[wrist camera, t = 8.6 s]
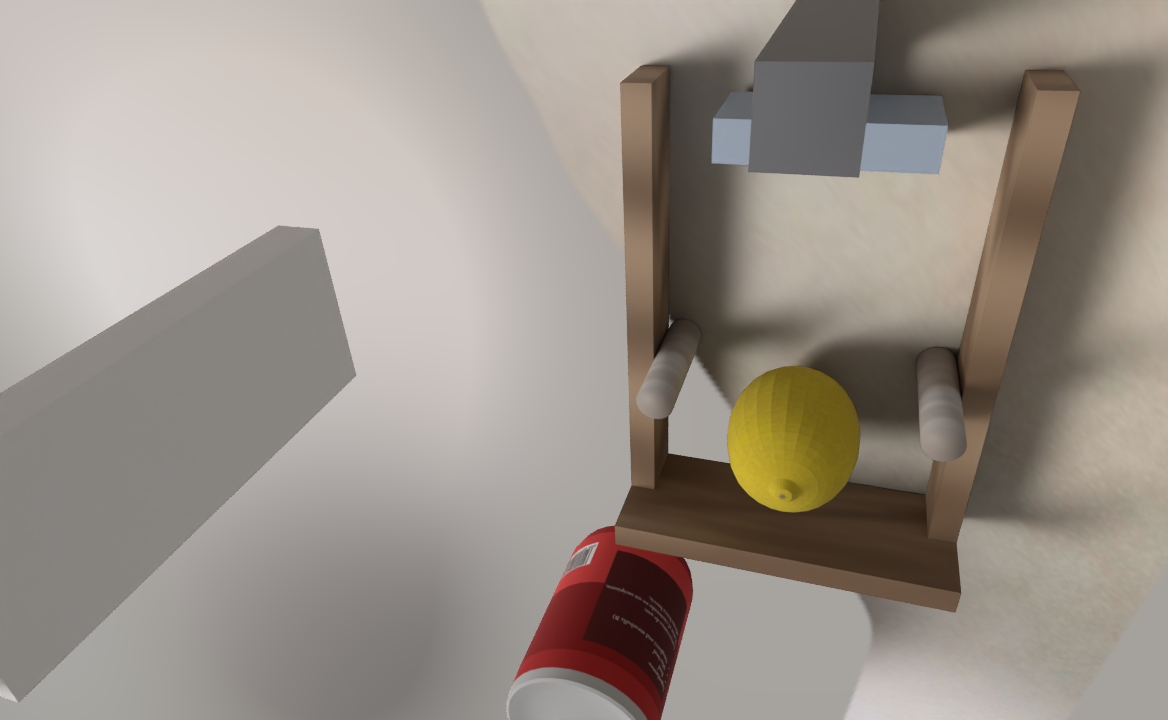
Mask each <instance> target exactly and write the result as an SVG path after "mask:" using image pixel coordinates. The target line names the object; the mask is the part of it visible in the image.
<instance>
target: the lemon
mask: <svg viewBox="0 0 1168 720" xmlns="http://www.w3.org/2000/svg"><path fill="white" fill-rule="evenodd" d="M859 445H860V426H859V421H858V417H857V413H856V409H855V407H854V404H853V403H852V401H851V399H850V398H849V396H848V394H847V392H846V391H845V390H844V389H843V388H842V387H841V386H840V385H839V384H838V383H837V382H836V381H835V380H834V379H832V378H831V377H829V376H827V375H826V374H824V373H822V372H820V371H817V370H815V369H812V368H809V367H801V366H788V367H781V368H777V369H774V370H771V371H768V372H766V373H764V374H763V375H761V376H759V377H758V378H756V379H755V380H754V381H753V382H752V383H751V384H750V385H749V386H748V387H747V388H746V389H745V390H744V391H743V392H742V393H741V395H740V397H739V399H738V401H737V402H736V404H735V406H734V408H733V411H732V413H731V417H730V421H729V428H728V435H727V446H728V452H729V458H730V464H731V468H732V470H733V473H734V475H735V477H736V479H737V481H738V483H739V484H740V485H741V487H742V488H743V489H744V490H745V491H746V492H747V494H748V495H750V496H751V497H752V498H753V499H755V500H756V501H757V502H759V503H761V504H763V505H765V506H767V507H769V508H771V509H775V510H778V511H783V512H803V511H809V510H812V509H815V508H818V507H820V506H822V505H823V504H825V503H827V502H828V501H830V500H832V499H833V498H834V497H835V496H836V495H837V494H838V493H839V492H840V491H841V490H842V488H843V487H844V486H845V485H846V483H847V482H848V480H849V477H850V475H851V473H852V471H853V469H854V467H855V464H856V462H857V458H858V454H859Z"/></svg>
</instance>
